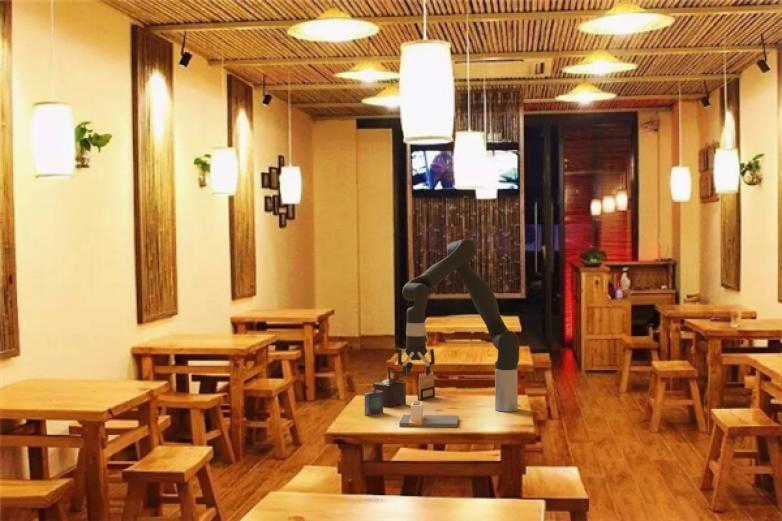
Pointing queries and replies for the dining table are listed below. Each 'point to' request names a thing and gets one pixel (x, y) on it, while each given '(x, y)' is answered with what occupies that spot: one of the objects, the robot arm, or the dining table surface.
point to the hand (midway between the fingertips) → (416, 375)
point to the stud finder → (416, 411)
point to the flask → (373, 402)
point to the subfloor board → (430, 421)
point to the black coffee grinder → (393, 389)
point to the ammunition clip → (426, 387)
